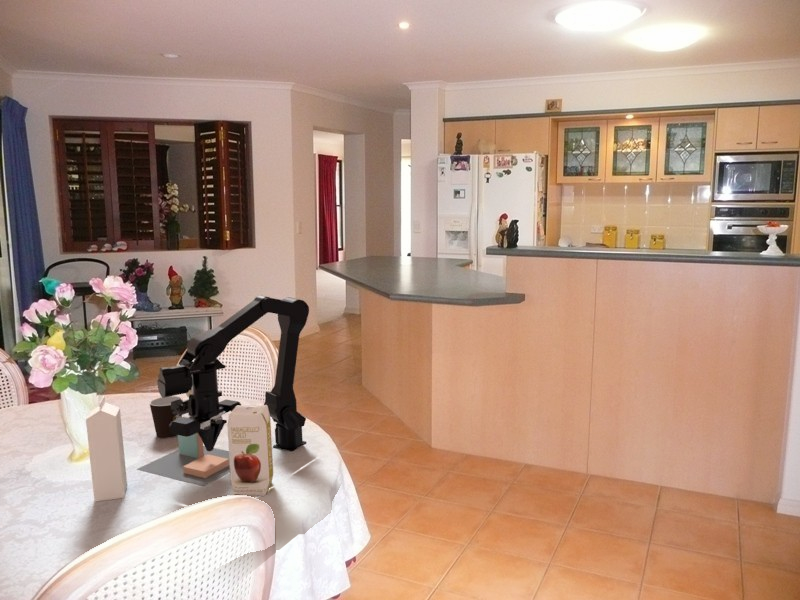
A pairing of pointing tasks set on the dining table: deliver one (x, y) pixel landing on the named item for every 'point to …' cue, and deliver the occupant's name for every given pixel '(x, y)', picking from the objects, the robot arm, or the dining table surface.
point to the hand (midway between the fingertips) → (209, 450)
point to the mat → (175, 462)
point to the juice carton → (250, 449)
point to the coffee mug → (163, 415)
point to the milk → (106, 452)
